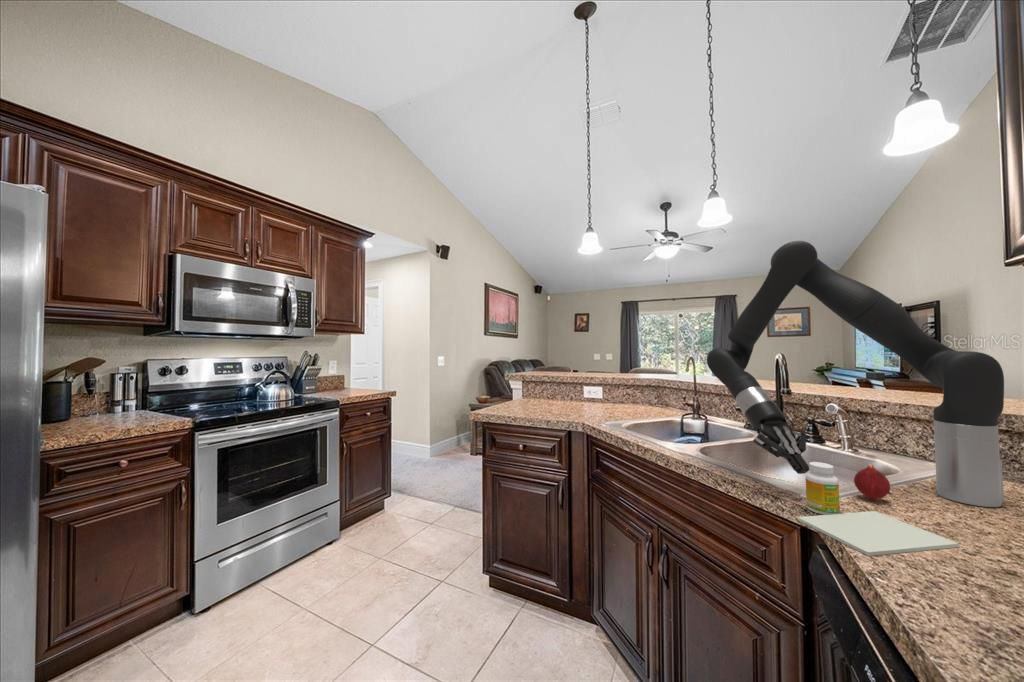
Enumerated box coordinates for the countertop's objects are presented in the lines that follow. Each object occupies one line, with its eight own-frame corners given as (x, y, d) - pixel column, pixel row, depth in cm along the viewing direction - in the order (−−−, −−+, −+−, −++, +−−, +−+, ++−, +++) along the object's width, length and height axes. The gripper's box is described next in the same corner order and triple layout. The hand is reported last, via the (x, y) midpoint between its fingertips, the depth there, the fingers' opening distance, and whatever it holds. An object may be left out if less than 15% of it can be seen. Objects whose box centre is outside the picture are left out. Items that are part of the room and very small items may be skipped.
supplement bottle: (827, 518, 75) (825, 469, 75) (800, 507, 80) (798, 462, 80) (846, 514, 76) (844, 467, 76) (818, 504, 81) (816, 459, 82)
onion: (898, 506, 80) (896, 469, 80) (867, 504, 81) (865, 467, 81) (877, 496, 85) (876, 461, 85) (848, 494, 86) (847, 460, 87)
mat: (875, 513, 76) (875, 511, 76) (958, 547, 63) (958, 543, 63) (797, 520, 74) (797, 517, 74) (868, 555, 61) (868, 552, 61)
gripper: (742, 400, 91) (787, 465, 79) (790, 398, 93) (841, 462, 80) (728, 418, 96) (768, 481, 84) (773, 416, 98) (819, 478, 86)
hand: (804, 471), depth 82 cm, fingers closed
